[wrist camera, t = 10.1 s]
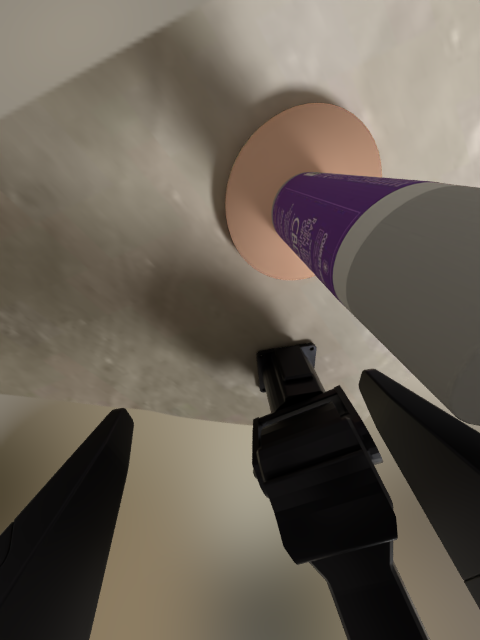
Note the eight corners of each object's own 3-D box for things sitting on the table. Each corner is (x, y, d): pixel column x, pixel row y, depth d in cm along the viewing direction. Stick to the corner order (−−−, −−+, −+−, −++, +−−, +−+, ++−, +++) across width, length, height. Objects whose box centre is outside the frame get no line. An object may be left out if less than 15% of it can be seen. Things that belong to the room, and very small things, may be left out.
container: (258, 204, 16) (420, 349, 4) (318, 153, 15) (902, 101, 2) (291, 256, 18) (460, 451, 6) (346, 216, 17) (709, 359, 5)
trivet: (357, 264, 21) (364, 270, 20) (234, 282, 20) (236, 289, 19) (388, 96, 14) (401, 91, 13) (212, 119, 14) (212, 115, 13)
